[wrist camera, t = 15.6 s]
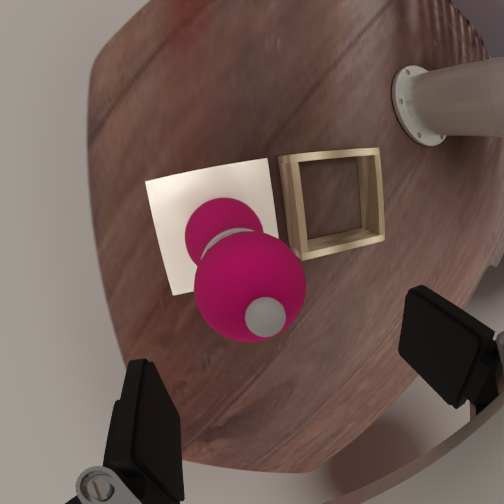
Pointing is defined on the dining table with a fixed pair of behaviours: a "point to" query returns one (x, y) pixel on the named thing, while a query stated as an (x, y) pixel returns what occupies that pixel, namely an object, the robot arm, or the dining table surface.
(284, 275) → the pepper mill
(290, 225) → the holder
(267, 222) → the tile
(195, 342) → the dining table surface
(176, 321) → the dining table surface
